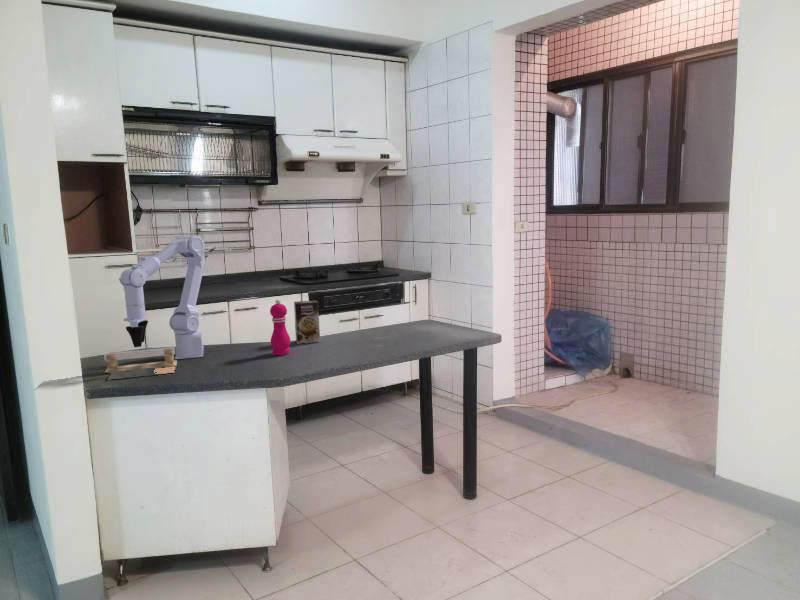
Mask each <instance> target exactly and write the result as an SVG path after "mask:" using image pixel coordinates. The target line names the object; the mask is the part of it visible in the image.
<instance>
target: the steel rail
mask: <svg viewBox="0 0 800 600" xmlns="http://www.w3.org/2000/svg"><path fill="white" fill-rule="evenodd" d="M170 349H172V355H175V356H176V346H168V348H165V347H160V348H159V347H158V348H149V349H139V350H138V349H137V350H128V351H118V352H117V351H114V352H115V353H111V352H107V353H104V354H103V358H104V362H106V356H107V355H114V357H115V360H117V361H120V360H121V361H123V360H130V359H143V358H152V357H163V356H164V357H165V355H164V350H170Z"/></svg>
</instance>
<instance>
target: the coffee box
mask: <svg viewBox="0 0 800 600" xmlns="http://www.w3.org/2000/svg"><path fill="white" fill-rule="evenodd" d="M293 306H294V307H293V308H294V327H295V328H294V329H295V342H296V341H297V342H296V344H297V345H303V344H302V343H305V344H314V343H315V342H316V343H321V333H320V332H321V331H320V312H319V311H320V310H319V301H318V300H303V301H302V300H301V301H293Z"/></svg>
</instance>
